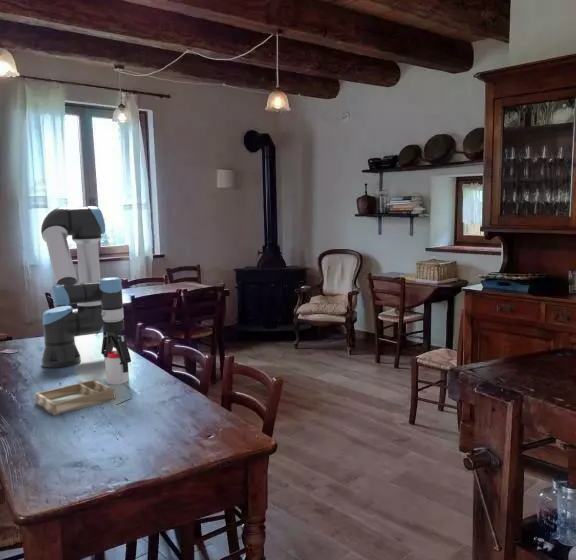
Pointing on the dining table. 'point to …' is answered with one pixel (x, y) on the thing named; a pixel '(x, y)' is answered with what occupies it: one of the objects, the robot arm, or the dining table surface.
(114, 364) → the pill bottle
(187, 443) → the dining table surface
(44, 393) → the crate
